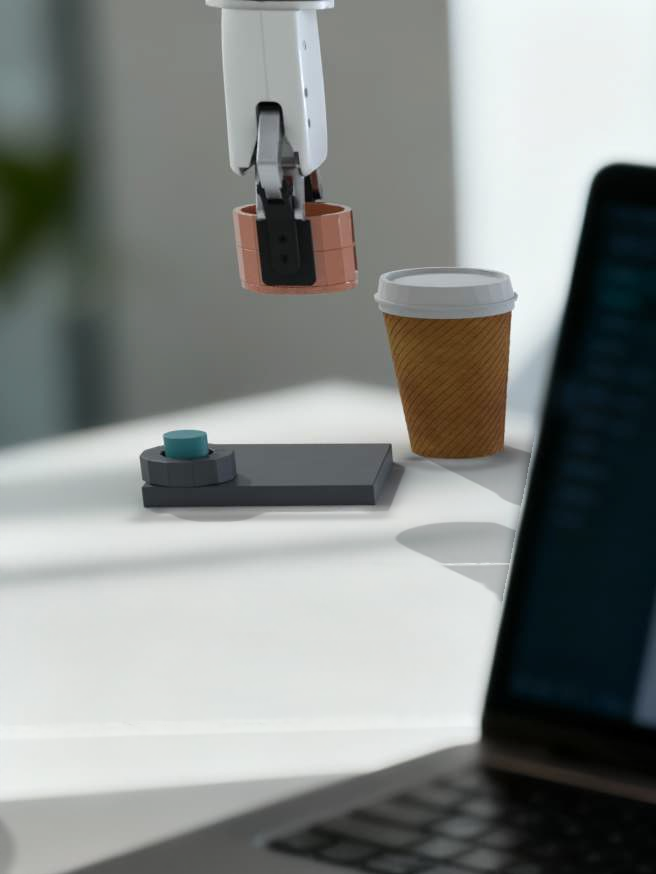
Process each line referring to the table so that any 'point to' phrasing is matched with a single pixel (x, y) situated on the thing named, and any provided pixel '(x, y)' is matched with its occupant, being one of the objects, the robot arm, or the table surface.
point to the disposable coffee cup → (450, 356)
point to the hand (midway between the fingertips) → (298, 272)
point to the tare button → (186, 444)
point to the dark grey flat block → (267, 475)
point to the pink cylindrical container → (328, 242)
